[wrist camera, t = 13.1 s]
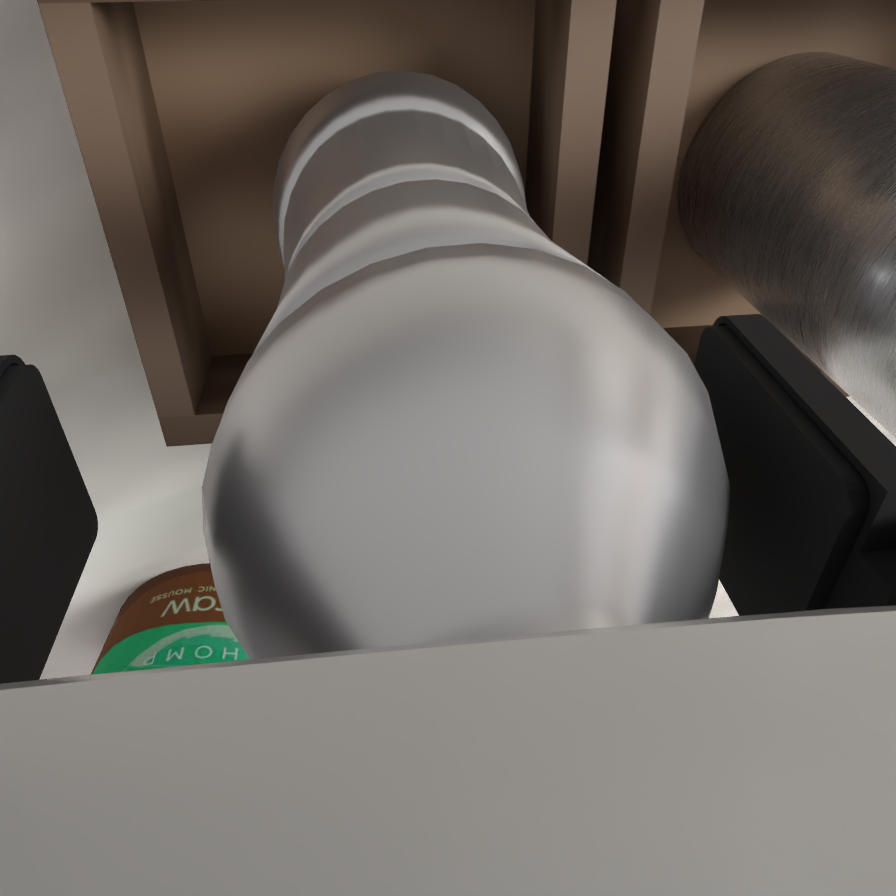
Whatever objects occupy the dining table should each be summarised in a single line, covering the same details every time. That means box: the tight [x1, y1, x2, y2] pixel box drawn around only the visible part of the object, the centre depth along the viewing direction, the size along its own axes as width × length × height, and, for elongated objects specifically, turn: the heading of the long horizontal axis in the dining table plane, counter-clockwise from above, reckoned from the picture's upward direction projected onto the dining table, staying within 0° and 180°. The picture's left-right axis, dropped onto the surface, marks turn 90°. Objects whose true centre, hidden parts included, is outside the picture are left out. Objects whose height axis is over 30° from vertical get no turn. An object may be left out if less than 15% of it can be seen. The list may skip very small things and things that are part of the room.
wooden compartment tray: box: [37, 0, 896, 446], centre depth 20 cm, size 14×26×4 cm, turn 90°
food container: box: [91, 564, 250, 675], centre depth 27 cm, size 12×6×10 cm, turn 91°
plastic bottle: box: [202, 71, 730, 659], centre depth 13 cm, size 6×7×20 cm
